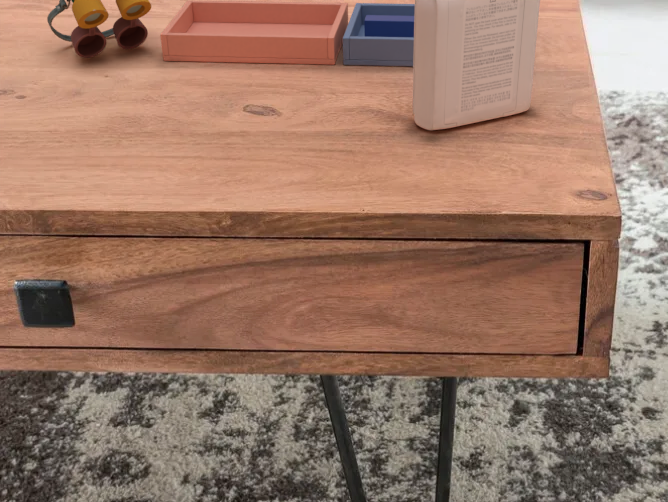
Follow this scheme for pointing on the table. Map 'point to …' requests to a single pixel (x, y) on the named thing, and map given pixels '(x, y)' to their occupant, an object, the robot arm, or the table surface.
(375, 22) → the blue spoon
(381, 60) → the blue tray
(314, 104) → the table surface
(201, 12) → the coral tray
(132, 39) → the binoculars
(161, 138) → the table surface
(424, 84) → the white plastic bottle
